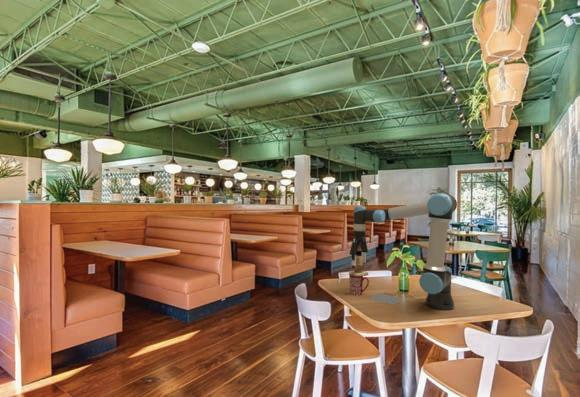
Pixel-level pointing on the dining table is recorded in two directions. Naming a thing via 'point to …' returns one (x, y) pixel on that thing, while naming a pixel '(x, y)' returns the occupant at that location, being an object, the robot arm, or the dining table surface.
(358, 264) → the lid
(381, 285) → the dining table surface
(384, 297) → the mat
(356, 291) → the mug
